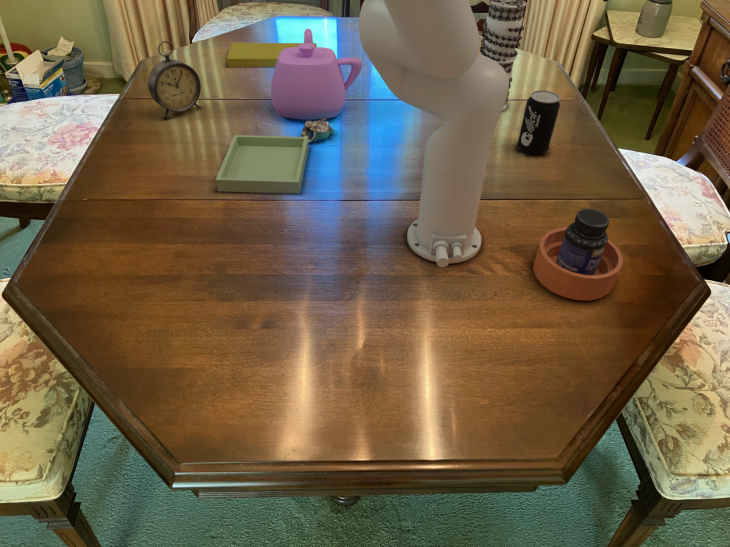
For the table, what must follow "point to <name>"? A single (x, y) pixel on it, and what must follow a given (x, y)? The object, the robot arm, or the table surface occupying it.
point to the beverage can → (538, 122)
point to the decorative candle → (503, 33)
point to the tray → (263, 164)
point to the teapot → (310, 81)
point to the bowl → (569, 281)
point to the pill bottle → (584, 242)
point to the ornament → (316, 130)
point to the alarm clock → (174, 84)
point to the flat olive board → (256, 54)
